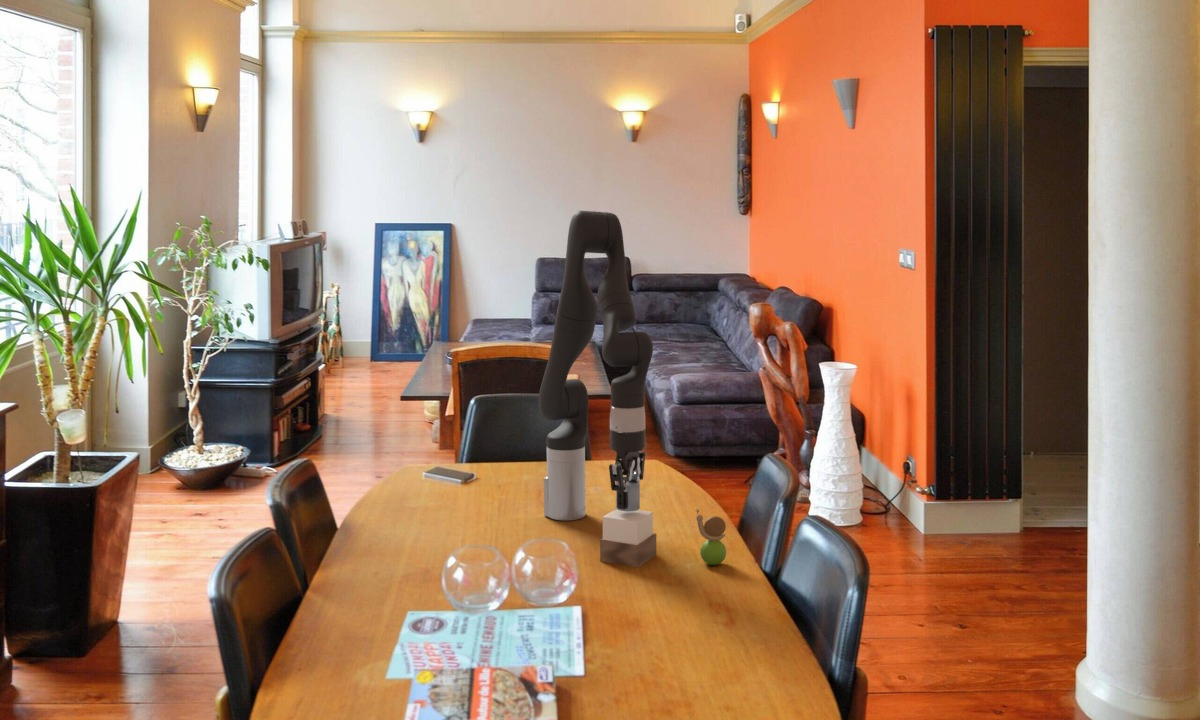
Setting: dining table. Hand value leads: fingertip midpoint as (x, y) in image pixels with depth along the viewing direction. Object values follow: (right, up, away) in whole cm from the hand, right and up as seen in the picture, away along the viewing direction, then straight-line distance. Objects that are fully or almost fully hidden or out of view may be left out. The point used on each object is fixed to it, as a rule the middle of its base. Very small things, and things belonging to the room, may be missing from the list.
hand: (627, 504), depth 226 cm
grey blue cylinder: (0, -1, 0) cm, 1 cm away
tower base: (0, -12, +2) cm, 12 cm away
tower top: (0, -7, +1) cm, 7 cm away
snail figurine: (+17, -12, -2) cm, 21 cm away
